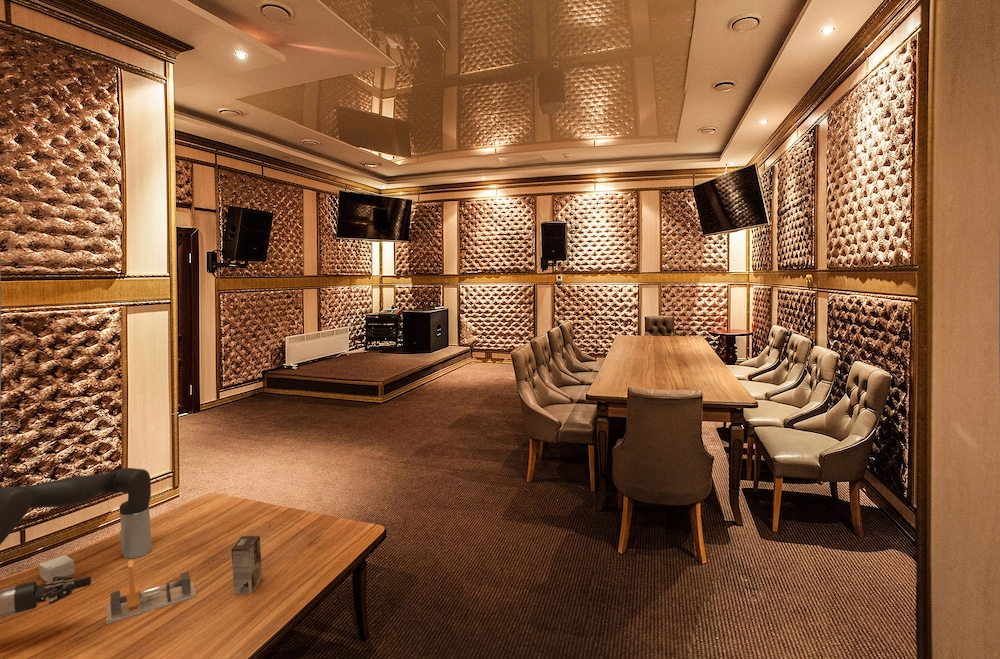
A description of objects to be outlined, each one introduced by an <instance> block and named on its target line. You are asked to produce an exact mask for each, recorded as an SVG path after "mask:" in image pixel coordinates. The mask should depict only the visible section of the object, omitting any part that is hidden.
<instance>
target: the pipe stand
mask: <svg viewBox="0 0 1000 659" xmlns="http://www.w3.org/2000/svg"><path fill="white" fill-rule="evenodd" d="M193 598H197V592H196V587H195V582H194V580H193V581H191V576H190V571H189V570H188V571H184V572H182V573H180V579H178V580H174V581H170V582H167V583H164V584H161V585H157V586H154V587H153V586H152V587H151V588H148V589H143V590H140V591H139V605H136V606H133V607H129V608H128V603H127V594H126V595H121V590H116V591H113V592H110V604H109V605H107V606H106V620H105V623H106V625H108V624H111V623H112V624H113V623H114V622H117V621H121V620H124V619H128V618H131V617H134V616H137V615H140V614H141V615H142V614H143V613H147V612H151V611H154V610H158V609H160V608H164V607H167V606H171V605H173V604H177V603H179V602H180V603H181V602H183V601H186V600H187V601H188V600H190V599H193Z"/></svg>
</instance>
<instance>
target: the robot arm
mask: <svg viewBox="0 0 1000 659" xmlns="http://www.w3.org/2000/svg"><path fill="white" fill-rule="evenodd" d="M151 480H152V479H151V475H150V473H149V471H148V470H146V469H144V468H134V467H126V468H125V467H124V468H120V469H117V470H113V471H109V472H105V473H101V474H99V473H98V474H88V475H78V476H71V477H66V478H62V479H56V480H50V481H47V482H41V483H37V484H32V485H22V486H21V485H18V486H1V487H0V546H1V545H2V544H3V543H4V541H5V540H6V538H8V536H10V534H11V533H12V531H13V530H14V529H15V527H17V525H18V524H19V523H20V522H21V521H22V519H23V518H24V517H25V516H26V515H27V513H28V512H29V510H30V509H34V508H35V509H36V508H38V509H39V508H42V509H43V508H59V507H69V506H74V505H78V504H82V503H87V502H89V501H91V500H93V499H95V498H96V497H97V496H101V495H104V494H113V493H119V494H120V493H122V494H127V495H128V496H127V500H126V501H124V502H122V503H121V504H119V505H120V506H119V518H120V531H119V536H120V537H119V538H120V547H121V548H120V549H121V554H122V556H123V558H124V559H136V558H140V557H143V556H145V555H147V554H149V553H151V551H152V550H153V548H152V547H153V546H152V532H151V530H152V528H151V517H150V502H151V497H152V492H151V491H152V489H151V488H152V485H151V483H152V481H151ZM91 584H92V576H86V577H81V578H77V579H76V578H74V576H66V577H60V576H56V577H54V578H53V581H51V582H44V583H42V584H38V582H37V581H35V580H34V581H30V582H25V583H21V584H17V585H12V586H9V587H5V588H1V589H0V618H3V617H4V618H5V617H7V616H10V615H12V616H13V615H15V614H19V613H23V612H27V611H30V610H33V609H36V608H37V607H38V605H39V604H38V603H44V602H48V605H53V604H54V603H56V602H58V601H60V600H62V599H64V598H65V597H68V596H70V595H71V594H73V592H74V591H75V590H77V589H80V588H84V587H88V586H91Z"/></svg>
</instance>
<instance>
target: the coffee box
mask: <svg viewBox="0 0 1000 659" xmlns="http://www.w3.org/2000/svg"><path fill="white" fill-rule="evenodd" d="M260 536H261V535H243V536H240V538H239V539H238V540H237V542H236V543H235V544H234V546H233V547H232V548H231V564H232V566H231V567H232V580H233V582H232V583H233V586H232V587H233V595H248V594H249V595H251V594H253V593H254V592H255V590H256V589H257V587H258V586H259V584H260V582H261V581H262V579H263V573H262V572H263V571H262V555H261V554H262V553H261V537H260Z"/></svg>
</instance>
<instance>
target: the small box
mask: <svg viewBox="0 0 1000 659" xmlns="http://www.w3.org/2000/svg"><path fill="white" fill-rule="evenodd" d="M38 569H39V571H38V572H39V577H40V578H41V579H42V580H43V581H44V582H45V583H47V582H51V581H53V578H54V577H56V576H60V577H69V576H70V575H71V576H72V575H74V574H75V573H76V567H75V560H74V559H72V558H71V557H69V556H67V555H66V554H63V555H59V556H57V557H55V558H52V559H49V560H47V561H44V562H41V563H39V564H38ZM68 575H69V576H68Z"/></svg>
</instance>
